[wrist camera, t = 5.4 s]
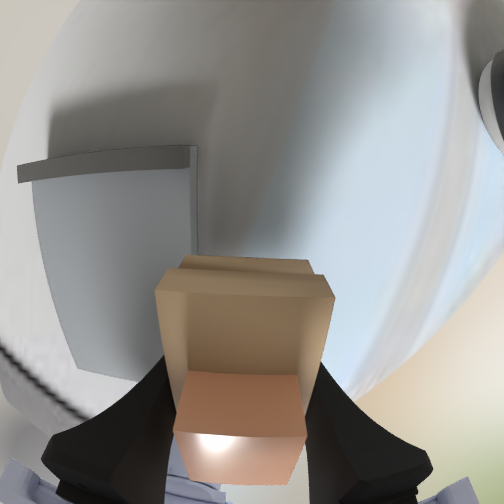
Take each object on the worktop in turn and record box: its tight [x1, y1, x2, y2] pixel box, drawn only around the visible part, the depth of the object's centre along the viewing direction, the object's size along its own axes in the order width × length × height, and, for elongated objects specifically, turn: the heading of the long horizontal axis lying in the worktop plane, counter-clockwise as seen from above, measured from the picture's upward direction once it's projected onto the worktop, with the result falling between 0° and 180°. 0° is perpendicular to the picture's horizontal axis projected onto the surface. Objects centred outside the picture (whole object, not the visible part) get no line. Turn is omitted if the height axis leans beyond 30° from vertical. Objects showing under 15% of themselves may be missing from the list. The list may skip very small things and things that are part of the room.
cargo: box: [173, 370, 307, 485], centre depth 8 cm, size 4×4×2 cm
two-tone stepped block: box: [155, 255, 335, 417], centre depth 11 cm, size 10×5×4 cm, turn 177°
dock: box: [17, 145, 198, 382], centre depth 17 cm, size 18×12×4 cm, turn 178°
